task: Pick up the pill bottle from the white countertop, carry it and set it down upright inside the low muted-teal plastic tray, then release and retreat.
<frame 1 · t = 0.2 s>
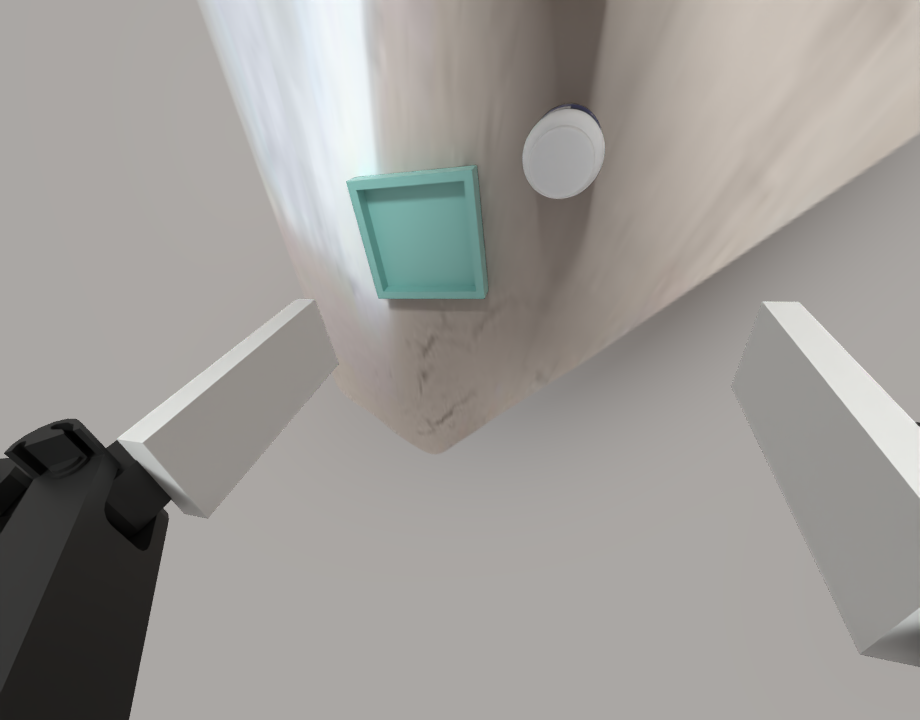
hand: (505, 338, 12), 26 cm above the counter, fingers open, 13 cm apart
pill bottle: (566, 142, 31), on the counter
tray: (425, 236, 38), on the counter
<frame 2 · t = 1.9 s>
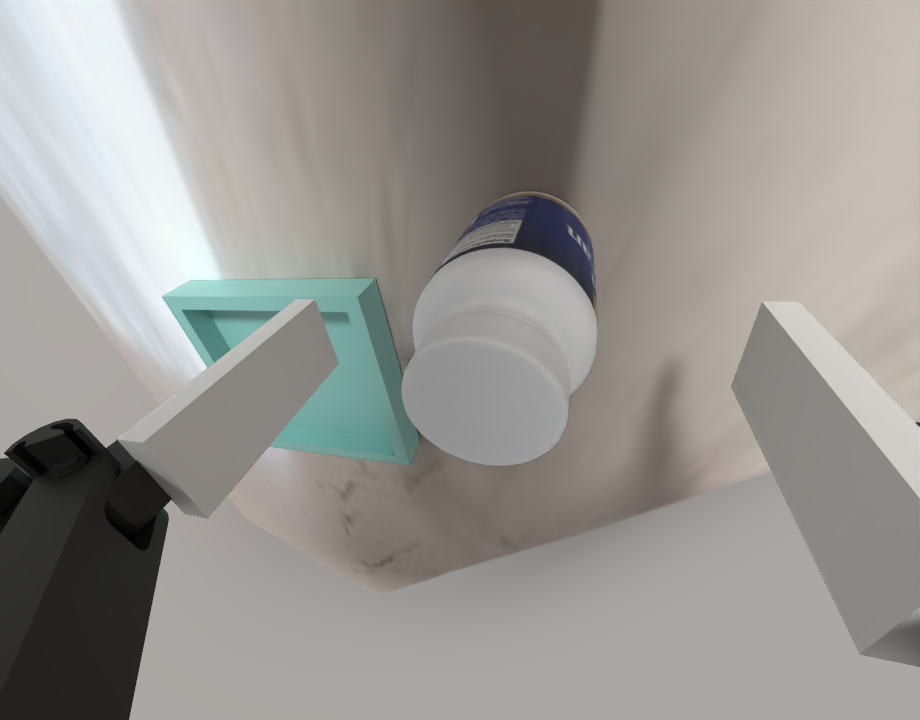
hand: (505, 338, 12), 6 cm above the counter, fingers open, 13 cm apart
pill bottle: (527, 252, 16), on the counter
tray: (314, 367, 24), on the counter
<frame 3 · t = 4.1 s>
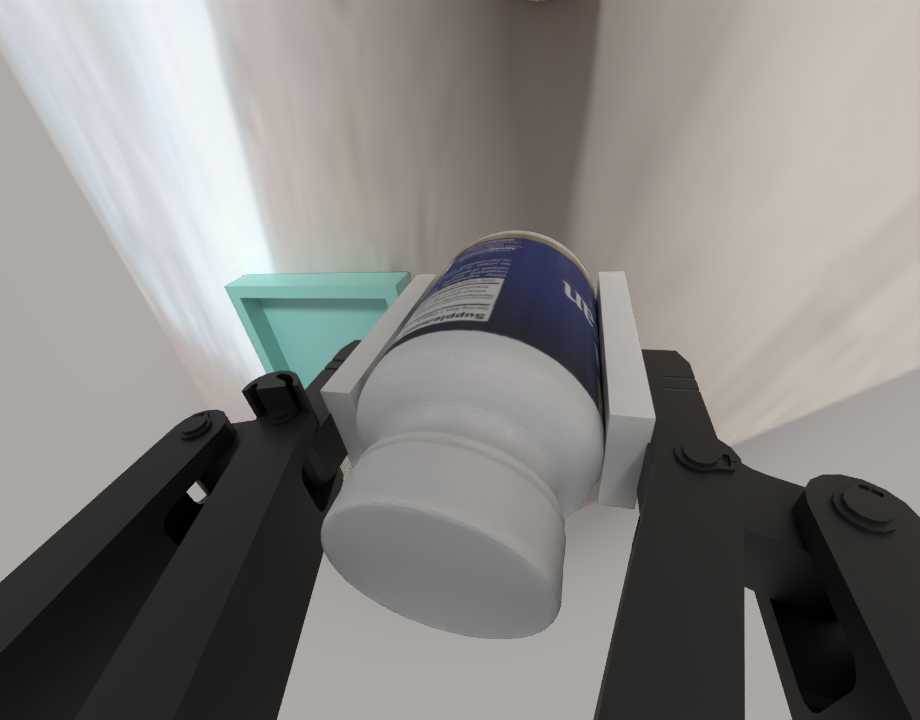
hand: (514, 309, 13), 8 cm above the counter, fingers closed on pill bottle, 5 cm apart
pill bottle: (517, 299, 14), point 7 cm above the counter, touching gripper
tray: (347, 352, 28), on the counter
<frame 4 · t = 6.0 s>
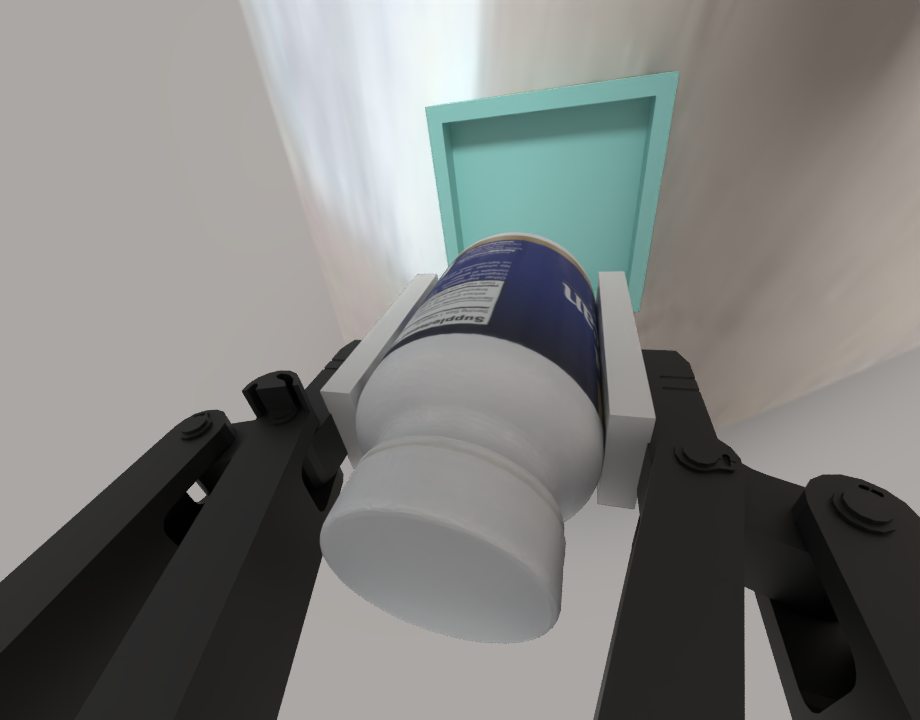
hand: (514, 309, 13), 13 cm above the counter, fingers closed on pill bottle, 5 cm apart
pill bottle: (517, 300, 14), point 12 cm above the counter, touching gripper
tray: (543, 208, 23), on the counter
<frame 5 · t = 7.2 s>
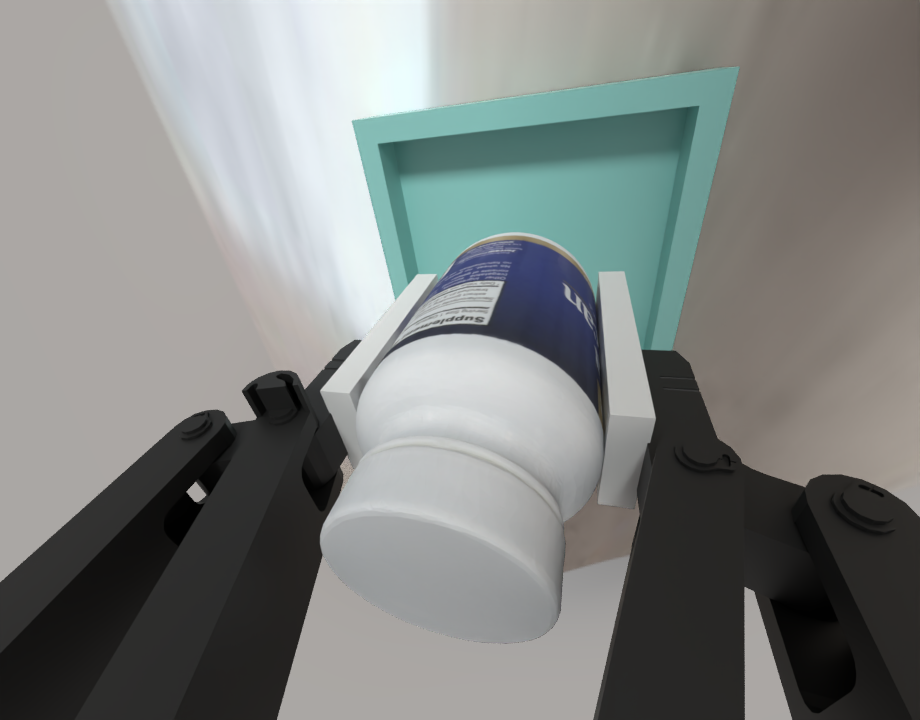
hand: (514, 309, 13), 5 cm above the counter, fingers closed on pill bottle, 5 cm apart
pill bottle: (517, 300, 14), point 4 cm above the counter, touching gripper
tray: (529, 257, 17), on the counter
when the fingers open (2 cm above the counter, at t = 8.0 s): pill bottle drops 1 cm, resting on tray.
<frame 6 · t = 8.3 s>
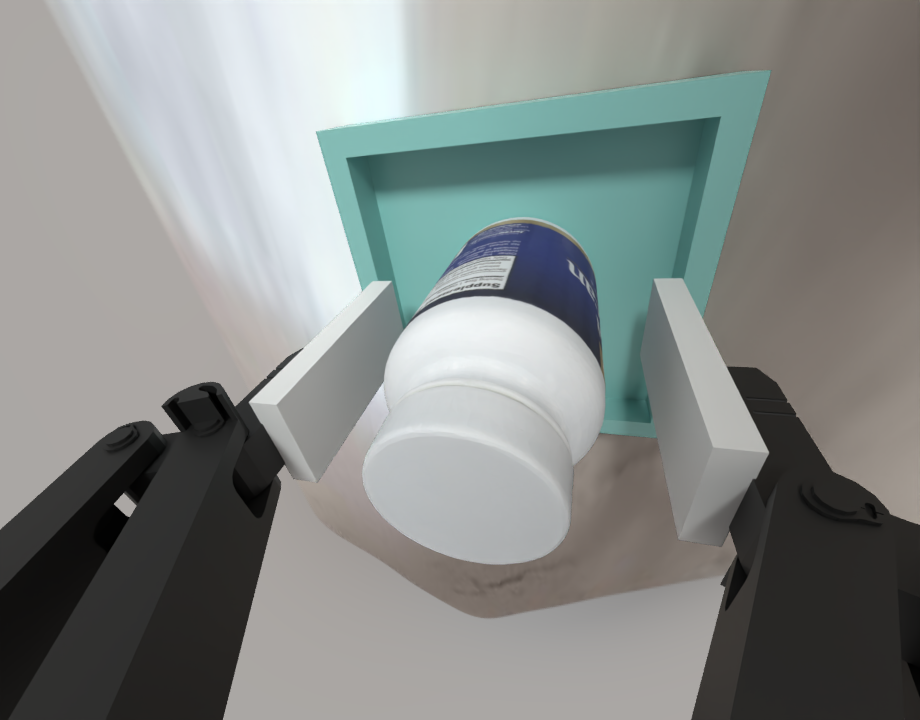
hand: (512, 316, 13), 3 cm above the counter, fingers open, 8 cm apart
pill bottle: (522, 282, 15), resting on tray
tray: (522, 282, 15), on the counter
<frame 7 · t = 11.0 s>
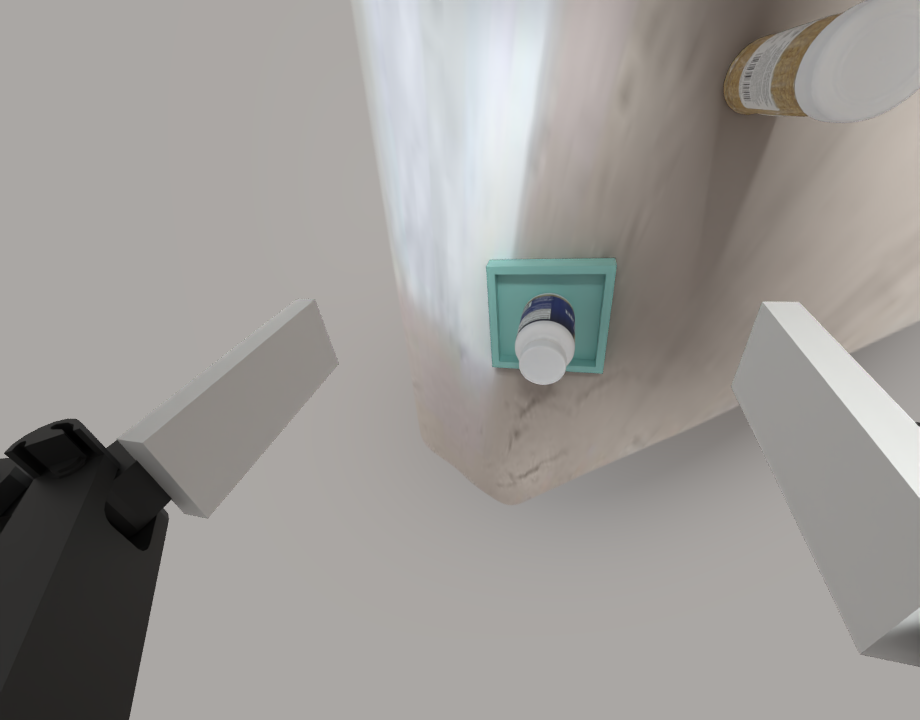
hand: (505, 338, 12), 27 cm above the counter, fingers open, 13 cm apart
sprinkles bottle: (758, 75, 27), on the counter
pill bottle: (548, 314, 40), resting on tray
tray: (548, 313, 41), on the counter
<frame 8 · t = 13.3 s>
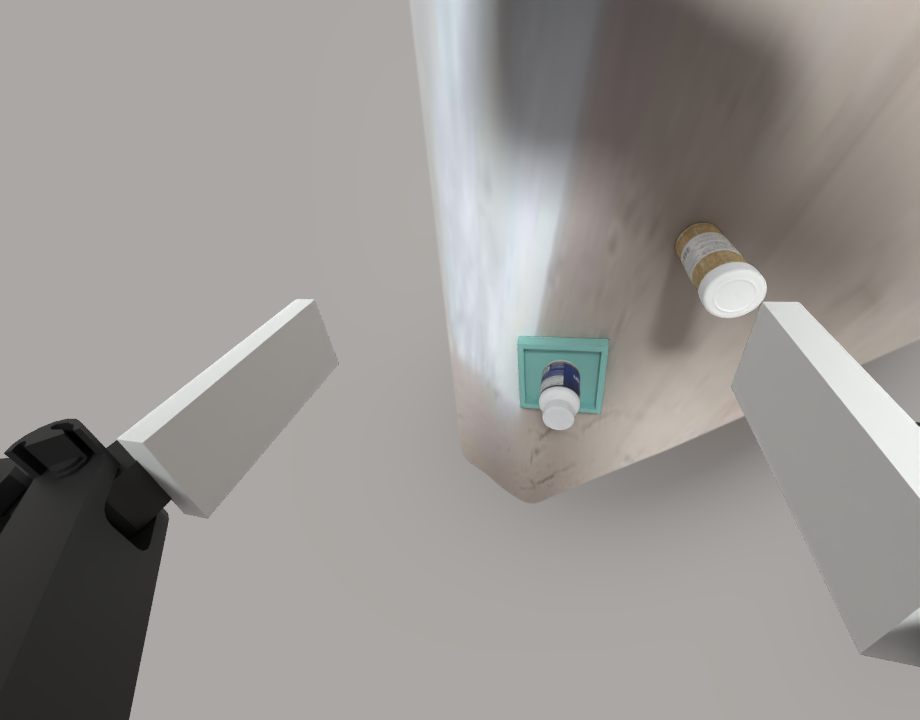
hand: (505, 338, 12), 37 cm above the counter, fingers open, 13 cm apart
sprinkles bottle: (696, 241, 42), on the counter
pill bottle: (561, 372, 56), resting on tray
tray: (561, 371, 57), on the counter
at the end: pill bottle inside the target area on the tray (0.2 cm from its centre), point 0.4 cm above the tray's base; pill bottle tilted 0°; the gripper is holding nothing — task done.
